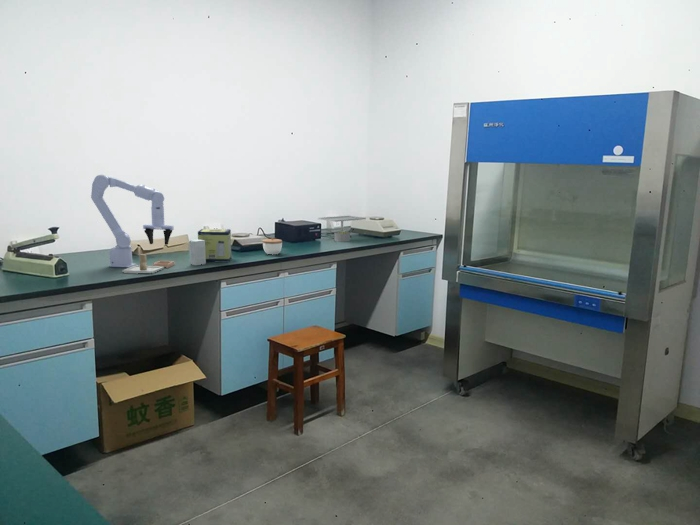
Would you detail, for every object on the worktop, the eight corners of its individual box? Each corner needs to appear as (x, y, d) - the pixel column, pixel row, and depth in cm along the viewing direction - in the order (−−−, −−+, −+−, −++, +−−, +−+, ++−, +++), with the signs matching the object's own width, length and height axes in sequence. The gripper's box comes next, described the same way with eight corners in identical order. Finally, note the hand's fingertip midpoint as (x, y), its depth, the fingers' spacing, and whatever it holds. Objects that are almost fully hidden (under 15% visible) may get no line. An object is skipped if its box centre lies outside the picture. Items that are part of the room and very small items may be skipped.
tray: (122, 272, 253) (122, 270, 253) (135, 267, 265) (135, 265, 264) (152, 274, 251) (152, 271, 251) (163, 269, 263) (163, 266, 263)
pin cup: (153, 267, 267) (153, 263, 267) (160, 264, 274) (159, 260, 274) (168, 267, 266) (168, 264, 266) (174, 264, 274) (174, 261, 273)
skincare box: (200, 262, 280) (200, 239, 278) (206, 264, 278) (205, 240, 276) (190, 264, 276) (189, 240, 274) (195, 265, 273) (195, 241, 271)
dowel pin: (138, 270, 257) (138, 255, 256) (142, 268, 260) (141, 253, 258) (144, 270, 256) (144, 255, 255) (148, 269, 259) (147, 254, 258)
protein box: (201, 258, 293) (200, 228, 291) (231, 258, 295) (231, 229, 292) (198, 261, 283) (197, 231, 280) (229, 262, 285) (228, 231, 282)
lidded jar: (259, 253, 312) (258, 236, 310) (275, 251, 318) (275, 235, 317) (269, 256, 304) (269, 239, 302) (285, 254, 311) (286, 237, 309)
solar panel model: (348, 237, 384) (348, 215, 381) (365, 240, 372) (366, 217, 369) (317, 240, 365) (317, 217, 362) (334, 243, 353) (335, 220, 350)
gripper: (139, 216, 267) (140, 244, 270) (168, 217, 266) (169, 246, 268) (146, 215, 274) (147, 242, 277) (174, 216, 273) (175, 243, 275)
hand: (159, 244), depth 273 cm, fingers open, 7 cm apart
